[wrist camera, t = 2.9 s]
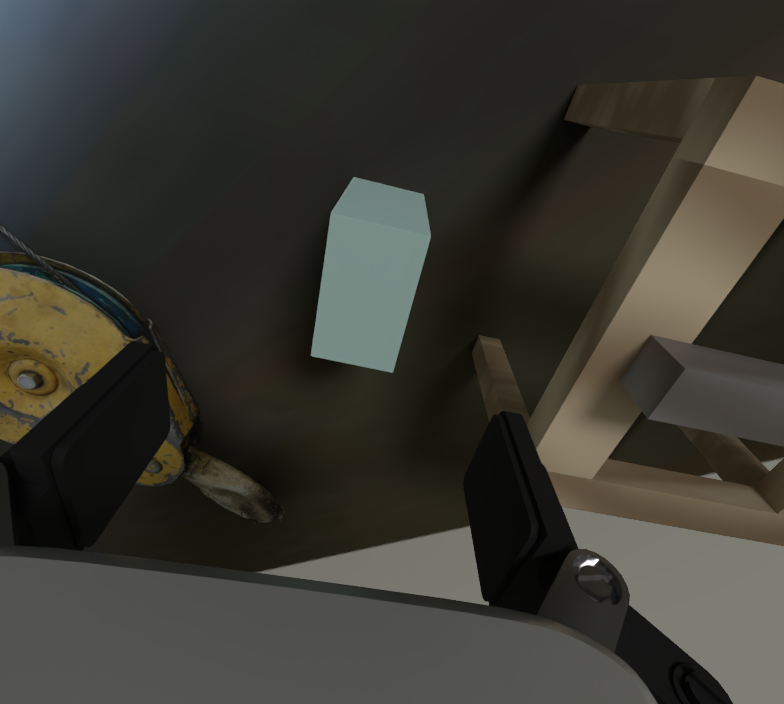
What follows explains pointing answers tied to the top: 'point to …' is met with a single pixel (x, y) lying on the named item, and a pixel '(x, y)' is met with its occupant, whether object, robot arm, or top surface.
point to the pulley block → (86, 357)
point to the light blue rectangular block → (370, 274)
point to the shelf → (671, 319)
